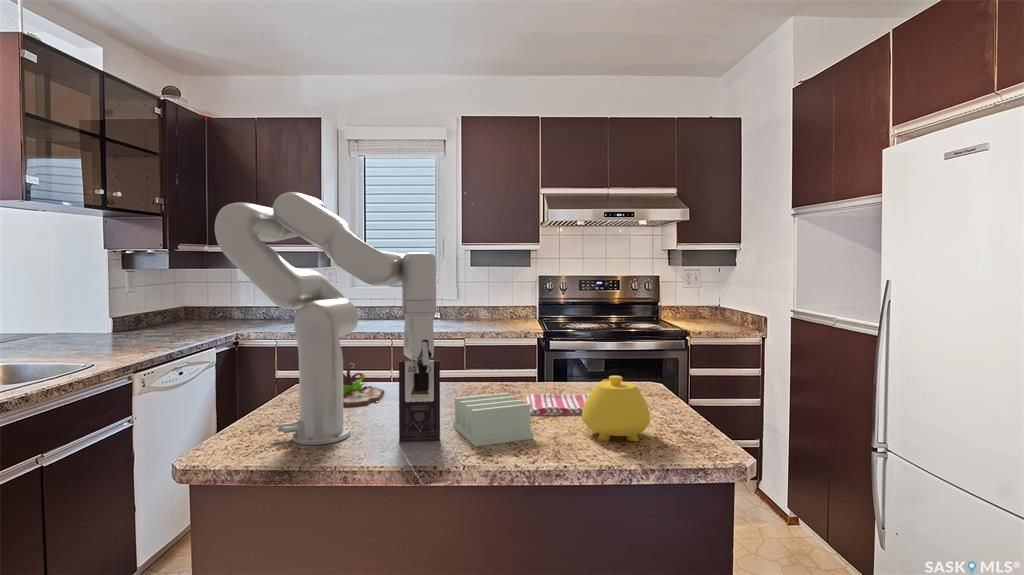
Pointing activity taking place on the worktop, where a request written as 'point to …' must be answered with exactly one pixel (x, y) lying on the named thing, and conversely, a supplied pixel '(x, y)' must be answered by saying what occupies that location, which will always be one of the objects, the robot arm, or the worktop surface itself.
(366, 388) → the plant
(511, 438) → the rack
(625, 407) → the yellow lidded pot
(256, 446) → the worktop surface
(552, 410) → the dish towel
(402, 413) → the chocolate bar
